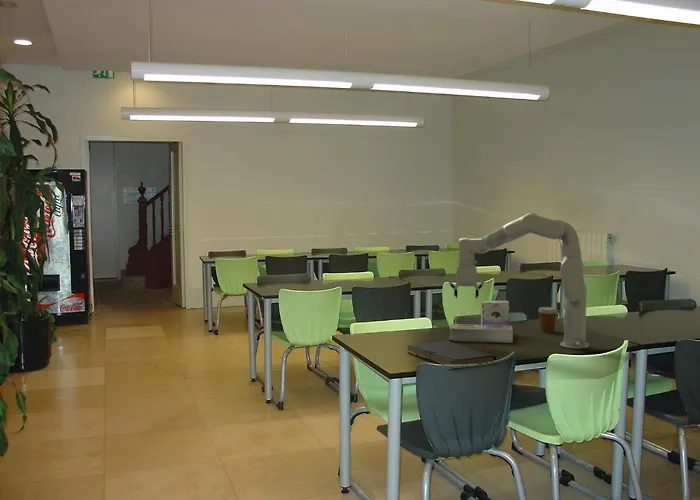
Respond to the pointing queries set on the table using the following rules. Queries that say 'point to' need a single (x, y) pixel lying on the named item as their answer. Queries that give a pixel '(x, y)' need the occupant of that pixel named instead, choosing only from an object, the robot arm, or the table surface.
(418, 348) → the file folder
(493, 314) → the candy box
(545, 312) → the disposable coffee cup
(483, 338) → the label stand
